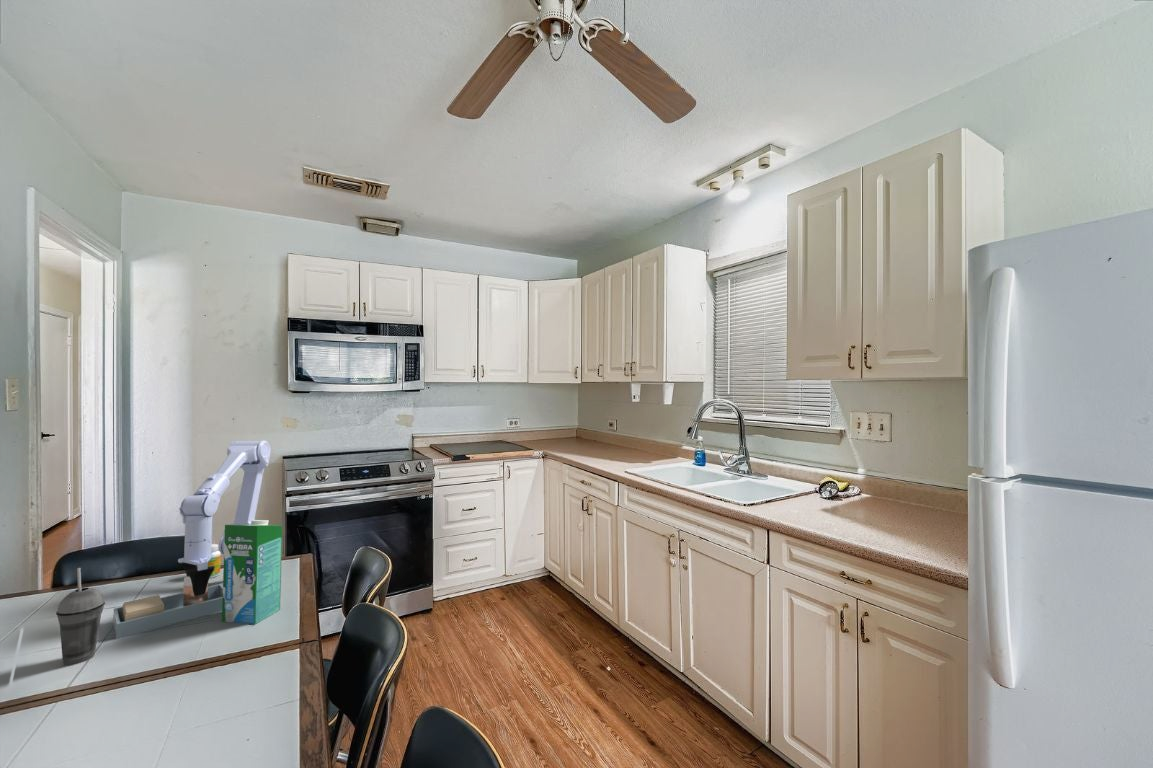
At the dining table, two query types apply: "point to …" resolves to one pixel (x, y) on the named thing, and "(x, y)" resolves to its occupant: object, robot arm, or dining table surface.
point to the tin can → (189, 595)
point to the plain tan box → (142, 608)
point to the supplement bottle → (215, 560)
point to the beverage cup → (79, 623)
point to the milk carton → (251, 571)
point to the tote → (169, 613)
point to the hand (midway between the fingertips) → (196, 590)
